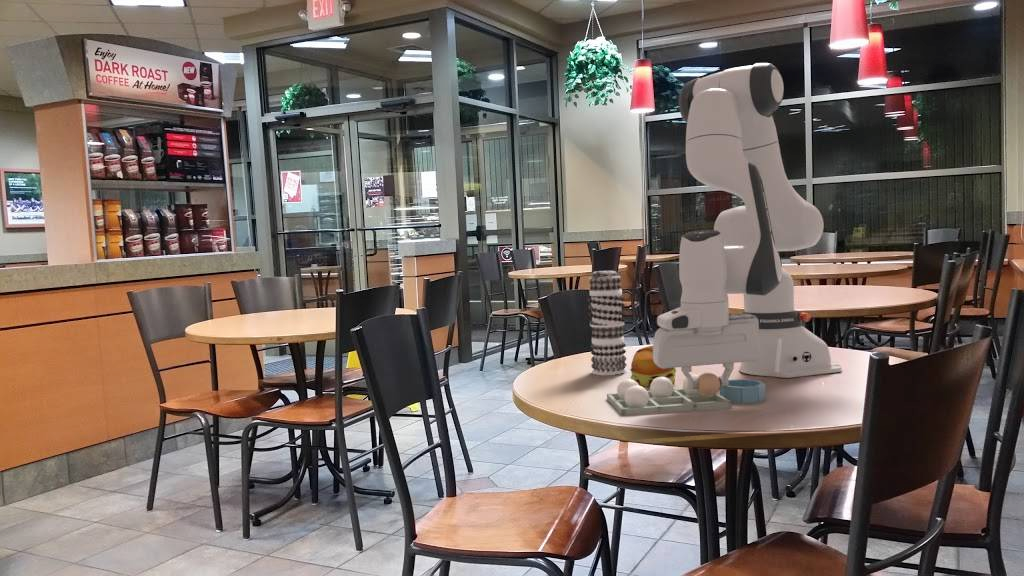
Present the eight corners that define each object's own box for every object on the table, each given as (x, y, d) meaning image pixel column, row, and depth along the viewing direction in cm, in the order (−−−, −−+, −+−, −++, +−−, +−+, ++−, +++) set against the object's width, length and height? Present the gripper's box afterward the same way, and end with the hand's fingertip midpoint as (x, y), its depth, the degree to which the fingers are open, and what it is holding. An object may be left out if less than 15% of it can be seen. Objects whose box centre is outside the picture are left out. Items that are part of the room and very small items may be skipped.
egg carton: (707, 395, 156) (706, 370, 156) (732, 411, 142) (731, 383, 142) (607, 402, 155) (606, 376, 154) (622, 419, 141) (621, 390, 140)
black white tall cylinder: (589, 376, 184) (584, 273, 182) (591, 369, 193) (587, 270, 191) (627, 375, 182) (622, 271, 181) (628, 368, 191) (624, 269, 190)
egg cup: (755, 395, 154) (754, 377, 154) (772, 404, 146) (771, 385, 146) (714, 398, 154) (713, 380, 153) (729, 407, 145) (728, 388, 145)
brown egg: (716, 392, 148) (715, 369, 148) (724, 398, 144) (723, 374, 143) (693, 394, 148) (692, 371, 147) (700, 400, 143) (699, 376, 143)
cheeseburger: (680, 380, 173) (678, 339, 170) (675, 401, 163) (672, 359, 160) (635, 379, 176) (632, 339, 173) (628, 400, 166) (624, 358, 163)
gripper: (751, 310, 148) (754, 379, 150) (648, 317, 147) (652, 388, 148) (764, 313, 142) (767, 386, 143) (657, 321, 141) (661, 395, 142)
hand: (708, 387), depth 146 cm, fingers closed on brown egg, 5 cm apart
